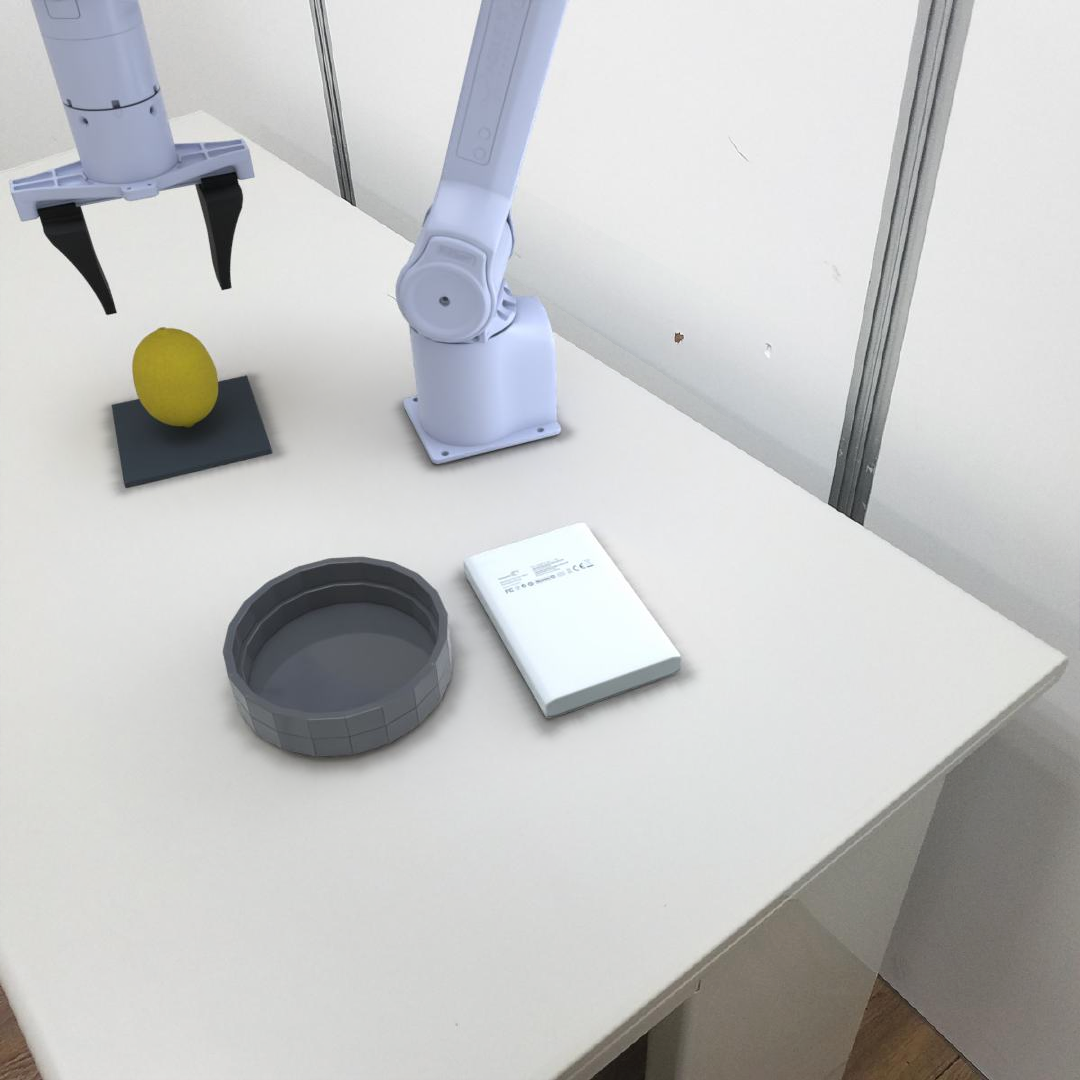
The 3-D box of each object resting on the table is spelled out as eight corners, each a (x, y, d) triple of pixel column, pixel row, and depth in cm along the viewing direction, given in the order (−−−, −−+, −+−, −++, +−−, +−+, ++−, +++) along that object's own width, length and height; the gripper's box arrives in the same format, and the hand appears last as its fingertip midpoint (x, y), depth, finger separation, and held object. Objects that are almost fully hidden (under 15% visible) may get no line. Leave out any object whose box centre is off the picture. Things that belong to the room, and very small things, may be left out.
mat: (247, 379, 85) (246, 375, 84) (272, 453, 78) (271, 448, 77) (112, 409, 82) (111, 404, 82) (125, 488, 75) (123, 483, 75)
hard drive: (545, 722, 59) (464, 575, 68) (680, 673, 62) (585, 537, 70) (544, 702, 58) (462, 556, 67) (682, 653, 61) (585, 518, 69)
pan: (418, 577, 68) (412, 535, 66) (480, 720, 60) (477, 678, 57) (221, 631, 65) (208, 589, 63) (257, 790, 57) (244, 748, 54)
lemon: (209, 453, 77) (181, 354, 72) (136, 444, 78) (103, 347, 73) (240, 407, 81) (217, 311, 76) (170, 400, 82) (142, 304, 77)
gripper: (-14, 138, 62) (62, 348, 71) (245, 94, 66) (285, 298, 75) (-19, 96, 67) (53, 297, 76) (222, 58, 71) (263, 253, 80)
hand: (167, 295), depth 76 cm, fingers open, 7 cm apart
